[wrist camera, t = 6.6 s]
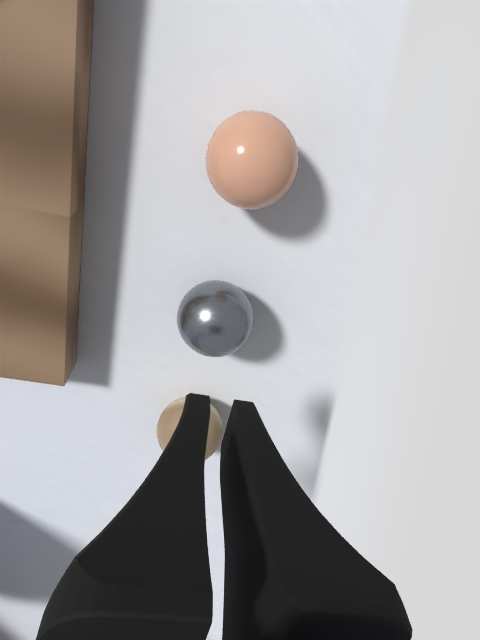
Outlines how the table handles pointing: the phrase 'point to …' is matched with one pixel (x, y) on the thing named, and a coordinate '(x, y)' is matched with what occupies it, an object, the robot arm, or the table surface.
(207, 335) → the steel ball
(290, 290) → the table surface
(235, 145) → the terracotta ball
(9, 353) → the brown flat rectangular block
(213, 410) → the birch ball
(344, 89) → the table surface
